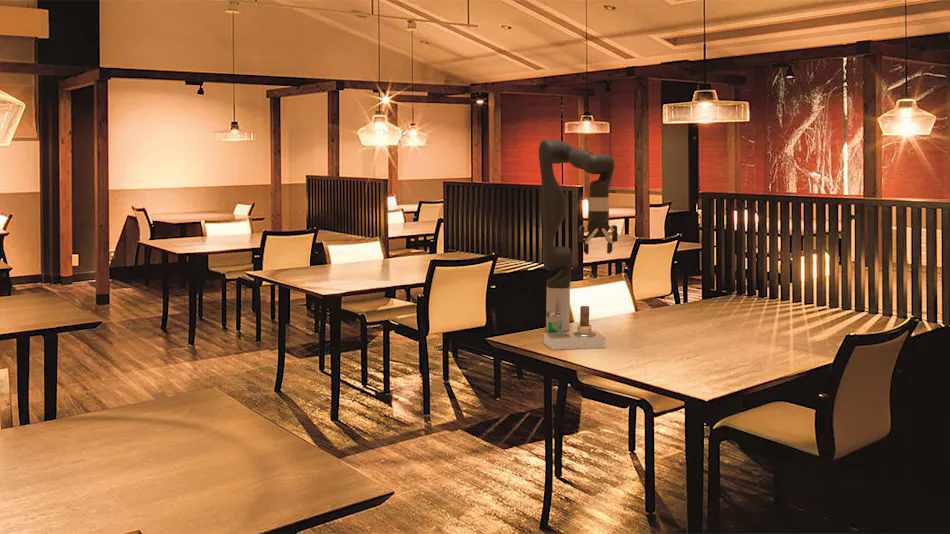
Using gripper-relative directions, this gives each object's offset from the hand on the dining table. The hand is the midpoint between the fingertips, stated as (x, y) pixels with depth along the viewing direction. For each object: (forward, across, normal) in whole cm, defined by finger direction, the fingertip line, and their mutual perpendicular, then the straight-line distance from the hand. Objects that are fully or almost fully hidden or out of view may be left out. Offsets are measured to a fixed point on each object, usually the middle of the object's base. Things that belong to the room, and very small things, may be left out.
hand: (597, 253), depth 318 cm
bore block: (+33, +10, +5) cm, 35 cm away
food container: (+33, +14, -6) cm, 37 cm away
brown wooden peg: (+29, +6, +5) cm, 30 cm away
